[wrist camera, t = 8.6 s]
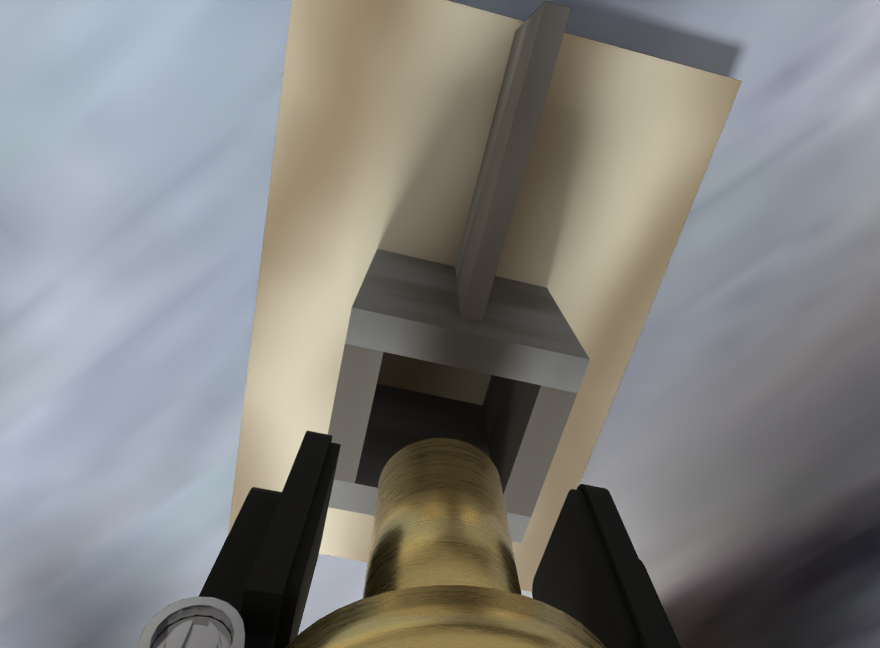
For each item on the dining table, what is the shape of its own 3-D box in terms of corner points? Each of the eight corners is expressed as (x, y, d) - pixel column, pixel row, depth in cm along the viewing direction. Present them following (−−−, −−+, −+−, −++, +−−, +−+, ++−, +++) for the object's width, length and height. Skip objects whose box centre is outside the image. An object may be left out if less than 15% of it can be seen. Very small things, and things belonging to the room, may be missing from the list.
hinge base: (726, 82, 18) (889, 68, 12) (531, 574, 26) (563, 731, 19) (304, -33, 17) (219, -121, 10) (235, 521, 25) (162, 669, 18)
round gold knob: (584, 415, 12) (723, 697, 6) (516, 590, 14) (575, 925, 8) (346, 367, 11) (263, 628, 6) (309, 555, 13) (221, 889, 8)
